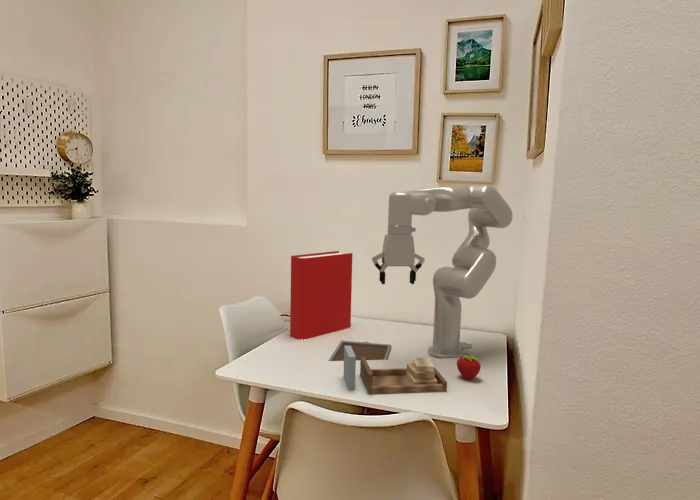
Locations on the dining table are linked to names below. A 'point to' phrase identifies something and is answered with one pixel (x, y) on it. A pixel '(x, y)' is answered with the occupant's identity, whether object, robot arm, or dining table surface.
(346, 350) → the grey square slab
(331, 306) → the book
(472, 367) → the strawberry
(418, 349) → the dining table surface
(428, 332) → the dining table surface
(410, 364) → the offcut middle
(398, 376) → the tray
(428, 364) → the offcut top
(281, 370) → the dining table surface
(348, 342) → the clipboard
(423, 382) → the offcut bottom
